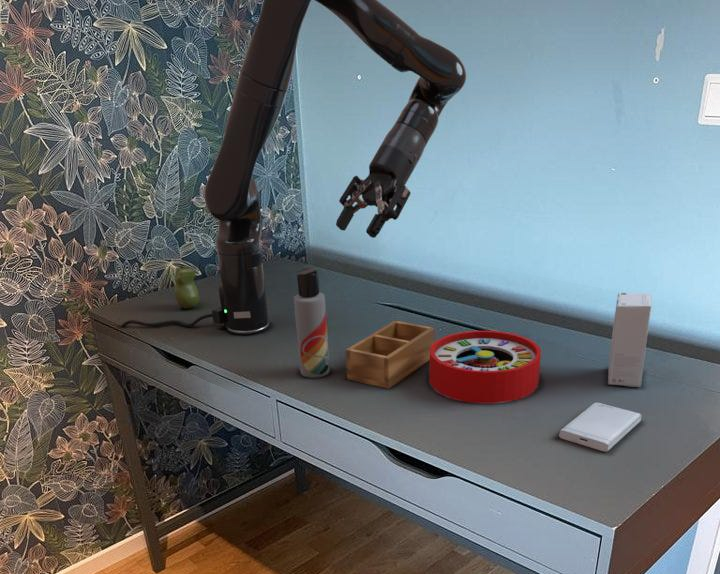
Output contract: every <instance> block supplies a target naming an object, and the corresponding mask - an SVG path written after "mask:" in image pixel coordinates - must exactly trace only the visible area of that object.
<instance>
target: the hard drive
mask: <svg viewBox="0 0 720 574" xmlns="http://www.w3.org/2000/svg"><path fill="white" fill-rule="evenodd" d="M641 420H642V414H641V413H639V412H635V411H632V410H628V409H625V408H620V407H617V406H613V405H609V404H605V403H601V402H594V403H593V404H591V405H590V406H589V407H587V409H585V410H584V411H583V412H581V413H579V415H578V416H576V417H575V418H574V419H573V420H571V421H570V422H569V423H567V424H566V425H565V426H564V427H563V428H561V429H560V430H559V435H558V436H559V438H560V439H562V440H564V441H568V442H572V443H575V444H577V445H581V446H585V447H588V448H591V449H594V450H597V451H600V452H603V453H604V452H605V453H606V452H609V451H610V450H611V449H612V448H613V447H614V446H615V445H616V444H618V442H620V441H621V440H622V439H623V438H624V437H625V436H626V435H627V434H629V432H631V430H633V429H634V428H635V427H636V426H637V425H638V424H639V423H640V422H641Z"/></svg>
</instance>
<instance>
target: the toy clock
mask: <svg viewBox="0 0 720 574" xmlns="http://www.w3.org/2000/svg"><path fill="white" fill-rule="evenodd" d="M541 356H542V349H541V348H540V346H539V345H538V344H537V343H536V342H534V341H533V340H531V339H530V338H527V337H525V336H523V335H519V334H517V333H516V334H515V333H511V332H505V331H499V330H471V331H470V330H469V331H461V332H456V333H452V334H448V335H445V336H443V337H441V338H439V339H437V340H435V342H434V343H433V345H432V346H431V348H430V360H429V377H428V378H429V385H430V386H431V388H432V389H433V390H434V391H435V392H437V393H438V394H440V395H442V396H444V397H446V398H449V399H451V400H455V401H460V402H465V403H471V404H483V405H484V404H485V405H486V404H501V403H503V404H504V403H508V402H514V401H516V400H520V399H524V398H525V397H528V396H529V395H531V394H533V393H534V392H535V391H536V390H537V389H538V386H539V382H540V381H539V380H540V369H541V359H542V358H541Z"/></svg>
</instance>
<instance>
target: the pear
mask: <svg viewBox="0 0 720 574" xmlns="http://www.w3.org/2000/svg"><path fill="white" fill-rule="evenodd" d="M195 278H196V273H195V271H194V270H193V269H192V268H190V267H189V266H188V265H179V267H178V268H176V271H175V273H174V280H175V284H174V297H175V300H176V303H177V304H178V305H179V306H180V307H181V308H183V309H186V310H187V309H189V310H190V309H193V308H195V307H197V305H198V304H199V302H200V294H199V289H198V287H197V286H196V283H195Z"/></svg>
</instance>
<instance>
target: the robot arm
mask: <svg viewBox="0 0 720 574" xmlns="http://www.w3.org/2000/svg"><path fill="white" fill-rule="evenodd" d="M311 2H312V0H263V2H262V6H261V10H260V14H259V17H258V20H257V23H256V26H255V28H254V30H253V33H252V36H251V38H250V41H249V42H248V43H249V44H248V46H247V49H246V52H245V55H244V59H243V61H242V65H241V68H240V71H239V74H238V78H237V81H236V85H235V88H234V94H233V97H232V101H231V105H230V109H229V112H228V117H227V122H226V125H225V130H224V133H223V139H222V142H221V145H220V149H219V151H218V154H217V156H216V159H215V162H214V164H213V166H212V169H211V172H210V174H209V176H208V179H207V181H206V184H205V187H204V194H203V195H204V203H205V206H206V208H207V210H208V212H209V213H210V215H211V216H212V217H213V218H215V219H216V220H218V229H217V233H216V237H215V248H216V255H217V262H218V269H219V277H220V284H221V285H219V286H218V295H219V302H220V306H219V307H216V308H214V309H212V310H211V313H208V314H204V315H201V316H199V317H197V318H196V319H195V320H193V321H192V322H190V323H185V322H183V321H181V320H177V319H176V320H175V319H173V320H164V321H159V322H145V321H140V320H136V319H135V320H134V319H130V320H126V321H124V322H123V323H122V324H121V325H120V328H126V326H128V325H130V324H134V325H139V326H142V327H143V326H144V327H160V326H161V327H162V326H167V325H174V324H175V325H180V326H183V327H185V328H192V327H193V326H195V325H197V324H199V322H201V321H203V320H205V319H209V318H212V321H213V324H217V325H222V324H223V329H225V330H227V332H229V333H231V334H234V335H242V336H243V335H245V336H246V335H254V334H258V333H261V332H264V331H266V330H267V329H268V328H269V327H270V321H269V316H268V315H269V313H268V304H267V294H266V285H265V276H264V275H265V274H264V266H263V259H262V248H261V235H262V217H261V203H260V194H259V188H258V185H257V182H256V180H255V178H254V177H253V174H254V171H255V167H256V164H257V161H258V159H259V156H260V154H261V152H262V150H263V148H264V146H265V145H266V143H267V141H268V139H269V137H270V136H271V134H272V132H273V130H274V128H275V126H276V124H277V122H278V120H279V117H280V115H281V113H282V110H283V107H284V104H285V100H286V97H287V94H288V91H289V89H290V88H289V87H290V84H291V79H292V75H293V72H294V66H295V59H296V54H297V53H296V52H297V47H298V42H299V41H298V39H299V35H300V31H301V28H302V25H303V23H304V20H305V17H306V15H307V12H308V10H309V7H310V4H311ZM314 2H317V3H319V4H320V5H321V6H323V7H324V8H326V9H328V11H330V12H331V13H332V14H334V15H335V16H336V17H337V18H338V19H340V20H341V21H342V23H344V25H346V26H347V27H348V28H349V29H350V30H351V31H352V32H353V33H354V34H355V35H356V36H357V37H358V38H359V39H360V40H361V41H362V42H363V43H364V44H365V45H366V46H367V47H368V48H369V49H370V50H371V51H372V52H374V53H375V54H376V55H377V56H378V57H380V58H381V59H382V60H383V61H384V62H386V63H387V64H388V65H389V66H391V67H392V68H393V69H395V70H396V71H398V72H399V73H402V74H403V73H407V72H412V73H414V74H416V75H417V76H419V78H418V79H417V81H416V83H415V85H414V87H413V89H412V92H411V94H410V96H409V99H408V101H407V103H406V104H405V106H404V107H403V109H402V110H401V112H400V114H399V116H398V117H397V119H396V121H395V123H394V124H393V125H392V127H391V129H390V130H389V131H388V132H387V134H386V136H385V137H384V139H383V141H382V142H381V143H380V146H379V147H378V149H377V151H376V153H375V154H374V157H372V160H371V161H370V163H369V164H368V169H369V172H368V175H367V176H366V178H364V179H361V178H360V177H359V176H358V175H354V176H353V177H352V178H351V180H350V182H349V184H348V185H347V187H346V188H345V190H344V192H343V193H342V195H341V197H340V198H339V200H338V202H339V203H340V204H341V205H342V206H343V208H342V211H341V212H340V214H339V215H338V218H337V219H336V222H335V225H336V227H337V228H338V229H339V230H340V231H346V230H347V228H348V226H349V224H350V223H351V221H352V219H353V217H354V216H355V213H357V212H358V211H359V210H361V209H362V210H363V209H366V208H367V207H368V206H369V207H373V206H374V207H376V208H377V213H375V214H374V215H373V217H372V219H371V221H370V222H369V224H368V226H367V228H366V230H365V232H366V234H367V235H368V236H369V237H371V238H372V239H375V238H376V237H377V236H378V235H379V234H380V232H381V231H382V229H383V227H384V225H385V223H386V222H389V221H390V220H393V221H396V220H397V219H399V218H400V217H399V216H400V215H401V213H402V212H403V209H404V207H405V205H406V204H407V202H408V199H409V198H410V197H411V190H410V189H409V188H408V187H407V186H406V184H407V182H408V181H409V179H410V177H411V175H412V173H413V172H414V170H415V169H416V167H417V165H418V163H419V162H420V160H421V158H422V156H423V154H424V151H425V149H426V147H427V145H428V143H429V141H430V140H431V138H432V136H433V134H434V132H435V131H436V129H437V127H438V124H439V118H440V115H441V113H442V112H443V110H444V109H445V107H446V105H447V104H448V102H449V101H450V100H451V99H452V98H454V97H455V96H456V95H457V94H458V93H459V92H460V91H461V90H462V89H463V87H464V86H465V83H466V80H467V71H466V68H465V66H464V65H465V64H464V63H463V62H462V61H461V59H460V58H459V57H458V56H457V55H456V54H455V53H454V52H452V51H451V50H449V49H448V48H446V47H444V46H442V45H441V44H439V43H437V42H435V41H434V40H431V39H428V38H426V37H424V36H422V35H421V34H419V33H418V32H417V31H416V30H415V29H414V28H413V27H411V26H410V25H409V24H407V22H406V21H404V19H402V18H401V17H399V16H398V15H397V14H396V13H395V12H393V11H392V10H391V9H389V8H388V7H387V6H385V4H383V3H381V1H379V0H314ZM360 196H361V197H360ZM349 197H350V198H349ZM348 198H349V199H348ZM128 409H129V413H130V418H131V422H132V427H133V432H134V433H133V434H134V437H138V436H139V434H138V428H137V422H136V419H135V413H134V409H133V406H132V405H128Z"/></svg>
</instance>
